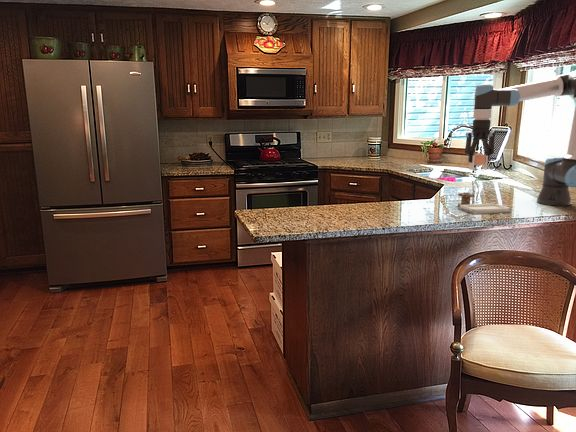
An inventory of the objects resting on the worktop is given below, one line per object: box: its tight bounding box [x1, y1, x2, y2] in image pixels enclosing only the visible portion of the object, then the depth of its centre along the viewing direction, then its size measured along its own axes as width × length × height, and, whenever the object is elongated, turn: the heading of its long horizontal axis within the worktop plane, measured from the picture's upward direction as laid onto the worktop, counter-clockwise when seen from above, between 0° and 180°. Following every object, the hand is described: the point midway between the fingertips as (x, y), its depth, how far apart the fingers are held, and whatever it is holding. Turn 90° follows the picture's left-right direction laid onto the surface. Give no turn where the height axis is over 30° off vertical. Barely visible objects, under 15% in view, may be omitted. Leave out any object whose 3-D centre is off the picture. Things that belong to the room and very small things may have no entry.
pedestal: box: [457, 192, 475, 207], centre depth 239 cm, size 7×7×6 cm
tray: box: [458, 203, 512, 215], centre depth 229 cm, size 19×12×2 cm, turn 101°
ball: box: [473, 152, 486, 167], centre depth 230 cm, size 6×6×6 cm
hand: (478, 169), depth 231 cm, fingers closed on ball, 6 cm apart
